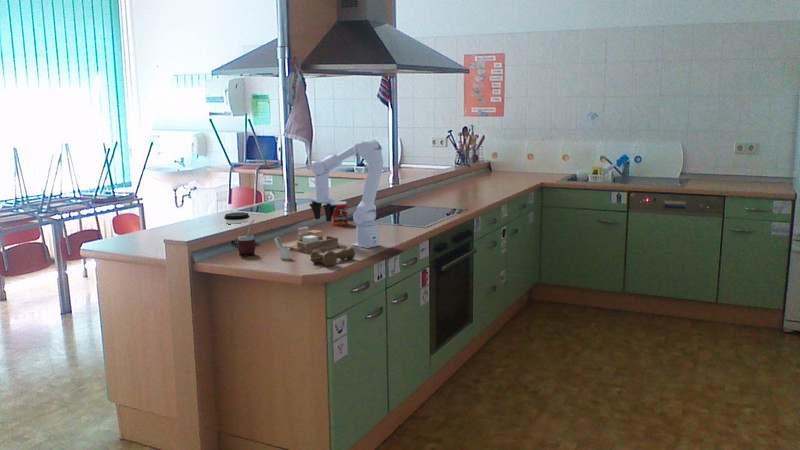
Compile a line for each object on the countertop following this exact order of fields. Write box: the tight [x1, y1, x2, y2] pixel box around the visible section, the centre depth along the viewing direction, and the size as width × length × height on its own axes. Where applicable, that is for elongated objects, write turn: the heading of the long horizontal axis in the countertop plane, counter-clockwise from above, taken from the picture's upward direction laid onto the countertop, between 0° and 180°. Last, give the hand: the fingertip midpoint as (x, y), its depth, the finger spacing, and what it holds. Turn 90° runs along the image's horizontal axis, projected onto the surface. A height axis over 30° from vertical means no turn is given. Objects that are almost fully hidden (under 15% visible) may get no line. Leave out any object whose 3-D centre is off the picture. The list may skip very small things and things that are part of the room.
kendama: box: [309, 246, 356, 267], centre depth 262 cm, size 6×10×20 cm
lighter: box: [273, 236, 291, 260], centre depth 271 cm, size 7×2×8 cm, turn 52°
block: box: [302, 235, 318, 244], centre depth 284 cm, size 4×4×4 cm
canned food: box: [331, 200, 349, 227], centre depth 340 cm, size 8×8×11 cm
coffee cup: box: [223, 211, 250, 225], centre depth 304 cm, size 11×11×12 cm
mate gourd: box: [236, 219, 256, 258], centre depth 276 cm, size 8×8×15 cm
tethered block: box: [296, 226, 324, 241], centre depth 296 cm, size 11×5×5 cm, turn 46°
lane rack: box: [281, 235, 340, 254], centre depth 291 cm, size 19×17×4 cm
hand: (323, 220), depth 300 cm, fingers open, 7 cm apart
